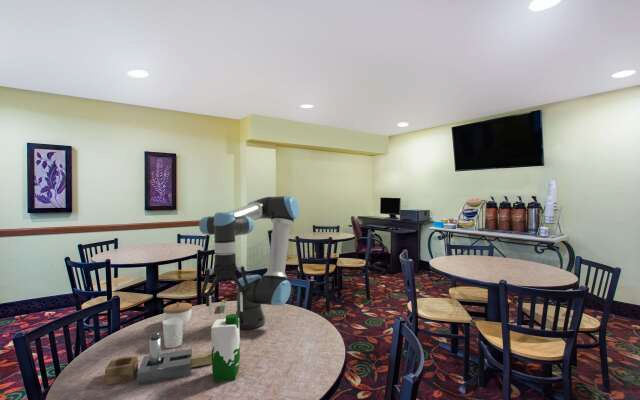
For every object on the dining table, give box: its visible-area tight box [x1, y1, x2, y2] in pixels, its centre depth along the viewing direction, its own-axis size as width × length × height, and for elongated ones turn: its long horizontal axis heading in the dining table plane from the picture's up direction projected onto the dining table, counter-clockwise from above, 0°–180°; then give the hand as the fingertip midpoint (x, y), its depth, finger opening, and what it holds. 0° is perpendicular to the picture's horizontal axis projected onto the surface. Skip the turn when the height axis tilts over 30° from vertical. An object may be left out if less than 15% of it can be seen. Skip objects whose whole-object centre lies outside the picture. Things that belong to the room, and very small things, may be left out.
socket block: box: [136, 348, 193, 386], centre depth 111 cm, size 16×12×4 cm
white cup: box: [162, 318, 184, 349], centre depth 133 cm, size 8×8×10 cm
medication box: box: [218, 299, 228, 314], centre depth 176 cm, size 12×3×4 cm, turn 11°
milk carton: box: [210, 313, 241, 382], centre depth 108 cm, size 9×9×20 cm
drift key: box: [188, 351, 212, 368], centre depth 115 cm, size 8×2×4 cm, turn 110°
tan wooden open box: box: [104, 354, 139, 386], centre depth 109 cm, size 8×8×5 cm
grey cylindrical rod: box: [148, 331, 162, 366], centre depth 110 cm, size 4×4×14 cm
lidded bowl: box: [163, 301, 193, 327], centre depth 155 cm, size 13×13×11 cm
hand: (226, 312), depth 118 cm, fingers open, 10 cm apart
